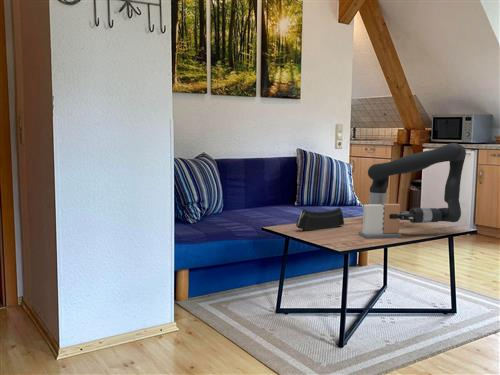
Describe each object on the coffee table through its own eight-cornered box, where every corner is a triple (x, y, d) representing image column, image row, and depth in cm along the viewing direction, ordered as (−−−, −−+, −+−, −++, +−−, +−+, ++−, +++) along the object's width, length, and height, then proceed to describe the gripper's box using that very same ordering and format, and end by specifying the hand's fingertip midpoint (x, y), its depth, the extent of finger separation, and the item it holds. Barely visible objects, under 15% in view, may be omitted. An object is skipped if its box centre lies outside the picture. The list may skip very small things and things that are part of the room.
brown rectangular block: (381, 231, 249) (382, 204, 247) (396, 231, 250) (397, 203, 249) (383, 233, 246) (385, 204, 244) (398, 232, 248) (400, 204, 246)
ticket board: (358, 234, 251) (359, 203, 249) (392, 233, 254) (393, 202, 252) (366, 238, 241) (368, 206, 239) (401, 237, 244) (403, 205, 242)
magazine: (344, 209, 273) (303, 196, 256) (348, 210, 270) (307, 197, 253) (336, 239, 272) (294, 228, 255) (340, 240, 269) (298, 229, 253)
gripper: (413, 205, 257) (382, 206, 253) (428, 210, 243) (395, 210, 240) (412, 220, 258) (381, 220, 254) (427, 225, 244) (394, 226, 241)
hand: (388, 215), depth 247 cm, fingers closed on brown rectangular block, 3 cm apart
